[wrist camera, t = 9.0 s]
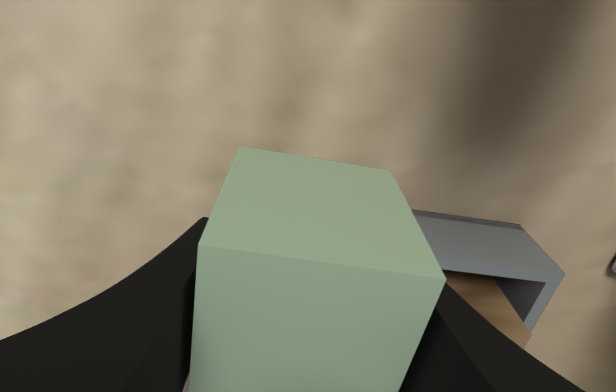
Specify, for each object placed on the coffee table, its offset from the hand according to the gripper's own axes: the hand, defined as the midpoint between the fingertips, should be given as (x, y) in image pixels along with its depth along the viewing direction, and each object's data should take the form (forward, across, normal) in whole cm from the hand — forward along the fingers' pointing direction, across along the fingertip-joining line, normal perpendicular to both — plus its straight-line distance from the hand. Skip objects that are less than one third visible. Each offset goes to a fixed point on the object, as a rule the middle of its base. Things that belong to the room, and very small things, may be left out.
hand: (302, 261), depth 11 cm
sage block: (+2, 0, 0) cm, 2 cm away
